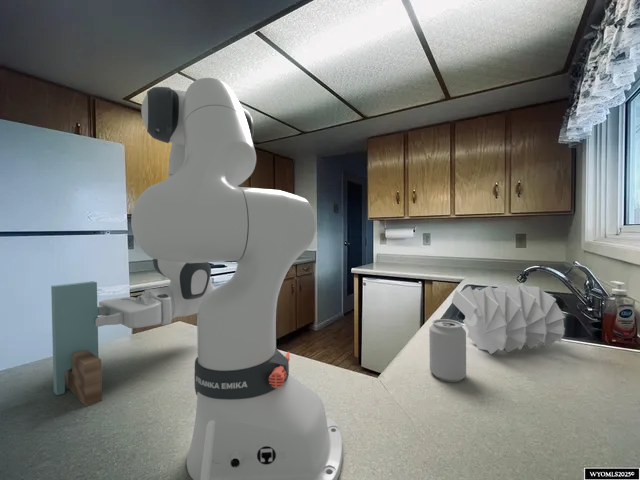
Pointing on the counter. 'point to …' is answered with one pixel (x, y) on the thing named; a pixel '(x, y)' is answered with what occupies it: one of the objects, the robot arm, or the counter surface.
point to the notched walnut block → (85, 377)
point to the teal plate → (72, 326)
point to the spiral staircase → (510, 317)
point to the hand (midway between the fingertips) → (87, 318)
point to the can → (447, 350)
